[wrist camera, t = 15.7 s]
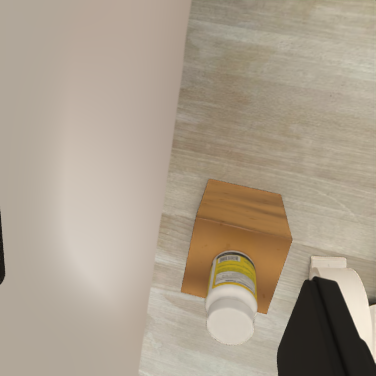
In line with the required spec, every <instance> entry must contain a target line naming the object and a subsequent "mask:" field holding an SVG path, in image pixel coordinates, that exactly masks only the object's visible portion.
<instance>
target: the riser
mask: <svg viewBox="0 0 376 376" xmlns="http://www.w3.org/2000/svg"><path fill="white" fill-rule="evenodd" d="M291 243H292V236H291V232H290V228H289V225H288V221H287V217H286V213H285V209H284V205H283V201H282V197H281V195H280V194H275V193H271V192H266V191H262V190H257V189H253V188H249V187H244V186H240V185H235V184H231V183H226V182H222V181H217V180H213V179H209V180H208V183H207V186H206V189H205V192H204V195H203V198H202V201H201V203H200V206H199V209H198V212H197V215H196V219H195V224H194V228H193V233H192V238H191V243H190V248H189V253H188V258H187V263H186V268H185V273H184V278H183V283H182V287H181V292H183V293H187V294H191V295H195V296H198V297H202V298H206V294H207V288H208V282H209V276H210V270H211V265H212V262H213V260H214V259H215V257H216V256H217V255H219V254H220V253H222V252H225V251H230V250H233V251H239V252H242V253H244V254H246V255H247V256H248V257H249V258H250V259H251V260H252V261H253V263H254V266H255V271H256V290H257V312H259V313H263V314H267V311H268V308H269V305H270V302H271V300H272V297H273V294H274V291H275V288H276V285H277V283H278V280H279V277H280V274H281V271H282V268H283V266H284V263H285V260H286V257H287V254H288V251H289V249H290V246H291Z"/></svg>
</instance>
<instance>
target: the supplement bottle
mask: <svg viewBox="0 0 376 376" xmlns="http://www.w3.org/2000/svg"><path fill="white" fill-rule="evenodd" d="M205 309H206V312H207V321H206V326H207V330H208V332H209V334H210V335H211V336H212V337H213V338H214V339H215V340H217V341H218V342H220V343H223V344H226V345H239V344H242V343H245V342H246V341H248V340H249V339H250V338H251V336H252V334H253V331H254V318H255V316H256V314H257V290H256V271H255V266H254V263H253V261H252V260H251V259H250V258H249V257H248V256H247V255H246V254H244V253H242V252H239V251H233V250H230V251H225V252H222V253H220V254H219V255H217V256H216V257H215V259H214V260H213V262H212V265H211V270H210V276H209V282H208V288H207V294H206V300H205Z"/></svg>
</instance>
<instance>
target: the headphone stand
mask: <svg viewBox="0 0 376 376" xmlns="http://www.w3.org/2000/svg"><path fill="white" fill-rule="evenodd" d="M346 263H347V260H346V258H345V257H322V256H311V261H310V273H309V280H311V279H312V278H313V277H314V276H317V277H321V278H325V279H329V280H334V281H336V282H337V283H338V285H339V287H340V290H341V292H342V295H343V297H344V299H345V302H346V304H347V307H348V309H349V312H350V314H351V316H352V319H353V321H354V324H355V326H356V328H357V331H358V333H359V336H360V338H362V339H363V340H364V341H365V342H366V344H367V345H368V347H369V349H370V352H372V323H371V315H370V309H369V304H368V299H367V295H366V292H365V289H364V286H363V283H362V281H361V279H360V277H359V275H358V274H357V272H356V271H355V270H353V269H349V268H346Z"/></svg>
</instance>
